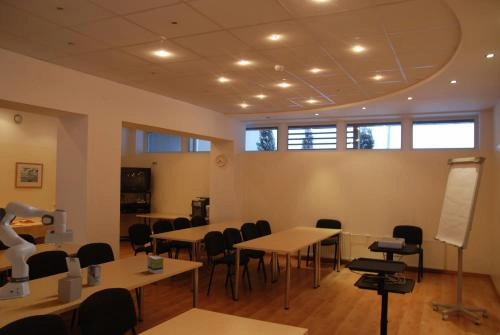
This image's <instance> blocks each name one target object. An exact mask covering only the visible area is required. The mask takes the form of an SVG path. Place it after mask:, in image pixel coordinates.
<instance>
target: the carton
mask: <svg viewBox="0 0 500 335" xmlns="http://www.w3.org/2000/svg"><path fill="white" fill-rule="evenodd" d="M81 287H82V288H83V276H82V277H77V276H68V277H67V276H65V277H61V278H58V281H57V302H60V303H61V302H62V303H69V304H70V303H73V302H75V301H77V300H80V299H81V298H82V291H81Z"/></svg>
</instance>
